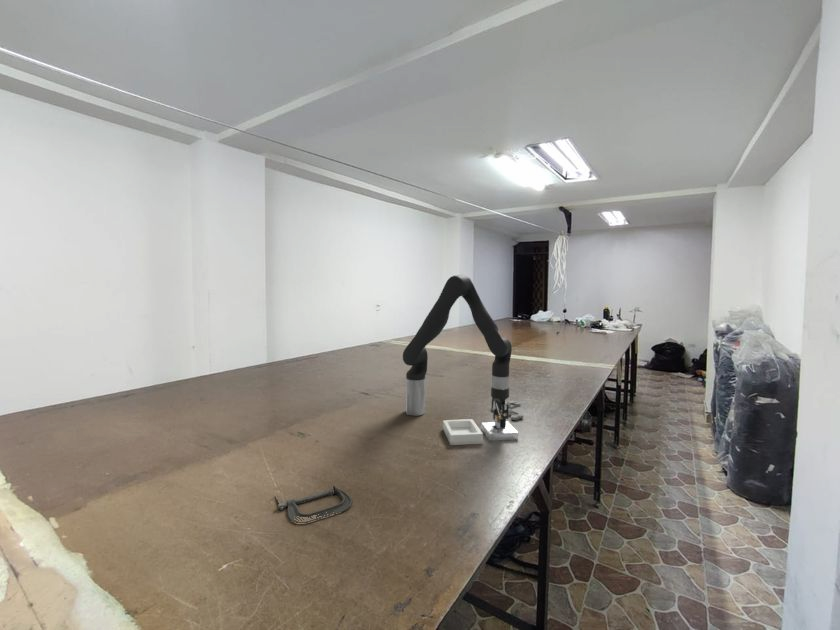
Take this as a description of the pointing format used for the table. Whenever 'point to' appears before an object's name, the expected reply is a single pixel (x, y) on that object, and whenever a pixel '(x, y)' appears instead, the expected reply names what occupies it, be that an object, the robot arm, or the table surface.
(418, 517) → the table surface
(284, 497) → the table surface
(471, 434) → the parts tray
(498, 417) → the lock pin
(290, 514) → the c clamp
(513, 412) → the pulley system
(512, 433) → the block
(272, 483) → the table surface
